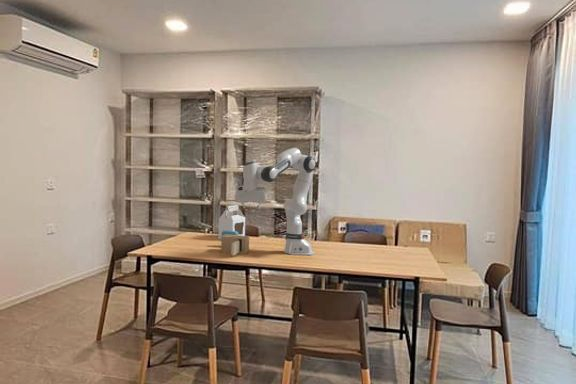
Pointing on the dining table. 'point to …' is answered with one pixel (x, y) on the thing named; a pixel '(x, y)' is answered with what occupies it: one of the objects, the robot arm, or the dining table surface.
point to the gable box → (232, 221)
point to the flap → (235, 248)
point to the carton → (229, 239)
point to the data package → (229, 232)
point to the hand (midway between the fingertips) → (251, 208)
